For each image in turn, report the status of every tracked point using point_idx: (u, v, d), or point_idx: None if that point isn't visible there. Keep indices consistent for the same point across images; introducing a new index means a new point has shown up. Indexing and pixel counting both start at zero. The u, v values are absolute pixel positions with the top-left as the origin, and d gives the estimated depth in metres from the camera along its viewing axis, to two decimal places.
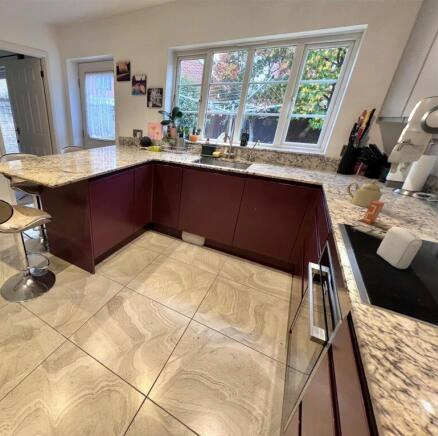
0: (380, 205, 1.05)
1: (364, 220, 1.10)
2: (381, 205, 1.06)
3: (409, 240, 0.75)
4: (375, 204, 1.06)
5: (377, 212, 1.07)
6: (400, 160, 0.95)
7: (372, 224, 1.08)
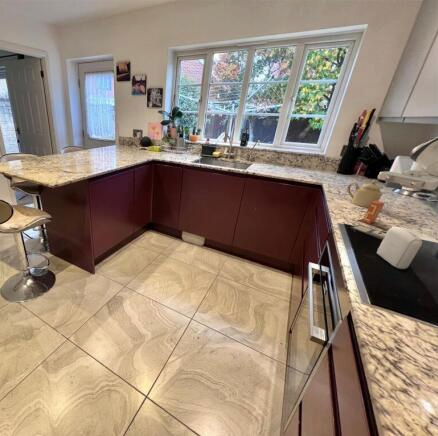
0: (380, 205, 1.05)
1: (364, 220, 1.10)
2: (381, 205, 1.06)
3: (409, 240, 0.75)
4: (375, 204, 1.06)
5: (377, 212, 1.07)
6: (384, 172, 1.16)
7: (372, 224, 1.08)
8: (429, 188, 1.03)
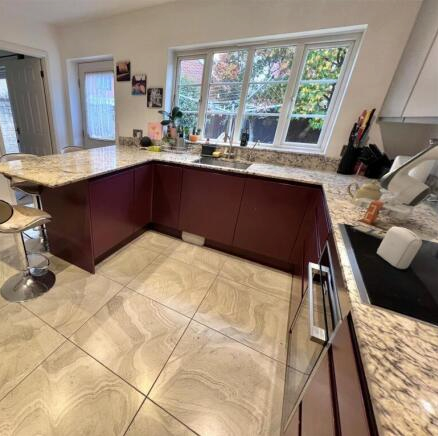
0: (380, 205, 1.05)
1: (364, 220, 1.10)
2: (381, 205, 1.06)
3: (409, 240, 0.75)
4: (375, 204, 1.06)
5: None
6: (359, 199, 1.16)
7: (372, 224, 1.08)
8: (401, 218, 1.03)
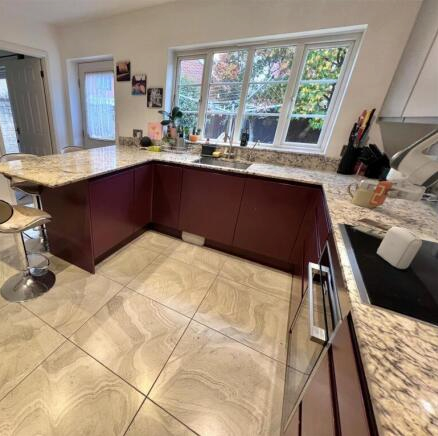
0: (389, 185, 0.96)
1: (371, 203, 1.00)
2: (390, 185, 0.96)
3: (409, 240, 0.75)
4: (383, 184, 0.96)
5: None
6: (365, 181, 1.07)
7: (372, 224, 1.08)
8: (413, 199, 0.93)
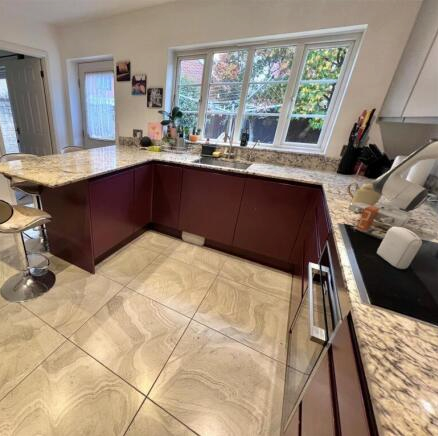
0: (375, 211, 0.98)
1: (358, 227, 1.03)
2: (376, 211, 0.99)
3: (409, 240, 0.75)
4: (369, 210, 0.98)
5: (372, 218, 1.00)
6: (354, 203, 1.09)
7: (372, 224, 1.08)
8: (398, 225, 0.96)
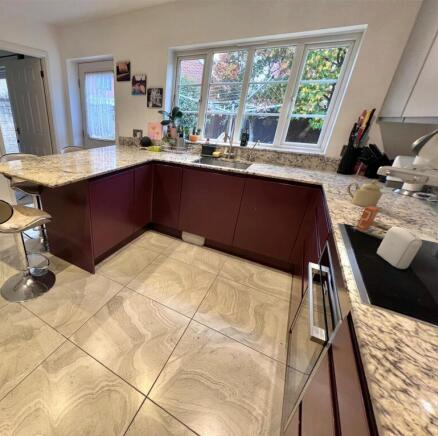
0: (375, 211, 0.98)
1: (358, 227, 1.03)
2: (376, 211, 0.99)
3: (409, 240, 0.75)
4: (369, 210, 0.98)
5: (372, 218, 1.00)
6: (384, 166, 1.07)
7: (372, 224, 1.08)
8: (433, 183, 0.94)
